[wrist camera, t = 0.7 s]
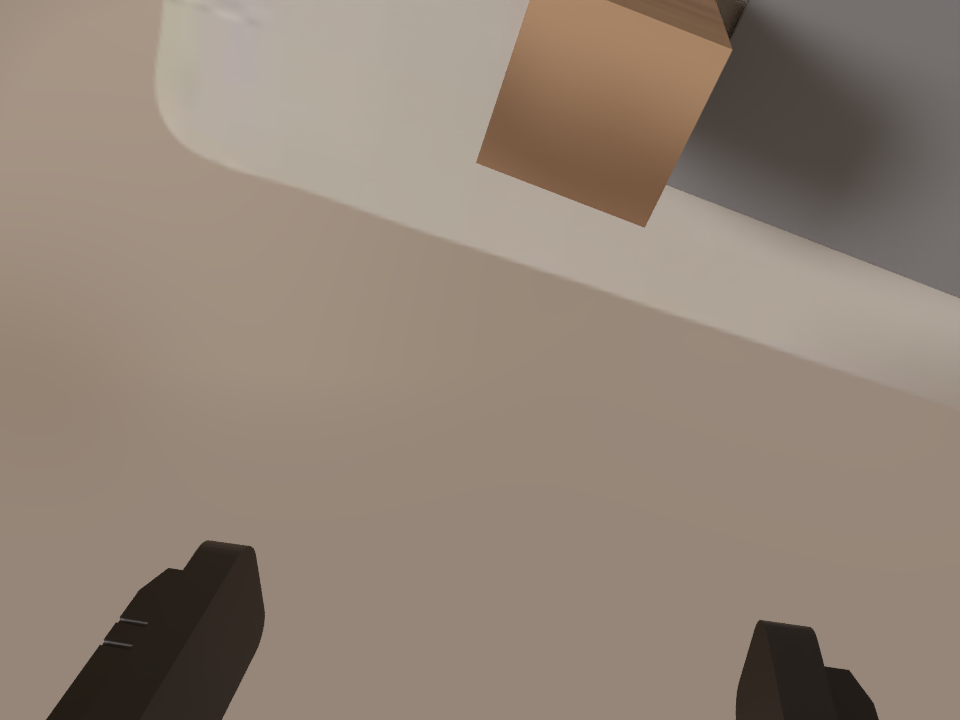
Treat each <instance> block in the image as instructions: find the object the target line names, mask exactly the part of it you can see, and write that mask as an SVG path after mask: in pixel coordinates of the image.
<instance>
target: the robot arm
mask: <svg viewBox="0 0 960 720" xmlns="http://www.w3.org/2000/svg"><path fill="white" fill-rule="evenodd" d="M264 619H265V611H264V603H263V597H262V591H261V584H260V578H259V572H258V566H257V559H256V554H255V551H254V549H253V548H252V547H251V546H245V545H238V544H231V543H224V542H216V541H209V540H208V541H205V542H203V543H202V544H201V545H200V546H199V548H198V549H197V550H196V552H195V553H194V555H193V556H192V558H191V559H190V561H189V562H188V564H187V565H186V567H185V568H184V570H178V569H171V568H168V569H167V570H165V571H164V572H163V573H161V574H160V575H159V576H158V577H156V578H155V579H153V580H152V581H151V582H149V583H148V584H147V585H146V586H144V587H143V588H141V589H140V590H139V591H138V593H137V594H136V596H135V597H134V598H133V600H132V601H131V602H130V604H129V605H128V607H127V608H126V610H125V611H124V612H123V614H122V615H121V616H120V621H119V622H118V623H115V625H114V626H113V627H112V629H111V630H110V632H109V633H108V634H107V636H106V637H105V639H104V643H103V645H100V646H99V647H98V649H97V650H96V651H95V652H94V654H93V655H92V657H91V658H90V659H89V661H88V662H87V664H86V665H85V666H84V668H83V669H82V671H81V672H80V673H79V675H78V676H77V678H76V679H75V680H74V682H73V683H72V684H71V686H70V687H69V689H68V690H67V691H66V693H65V694H64V696H63V697H62V698H61V700H60V701H59V703H58V704H57V705H56V707H55V708H54V710H53V711H52V713H51V714H50V715H49V716H48V718H47V719H46V720H222V718H223V716H224V714H225V712H226V710H227V708H228V706H229V704H230V702H231V700H232V698H233V696H234V694H235V692H236V690H237V688H238V686H239V684H240V682H241V680H242V678H243V676H244V674H245V672H246V670H247V668H248V666H249V664H250V662H251V660H252V658H253V656H254V654H255V652H256V650H257V648H258V646H259V643H260V640H261V636H262V632H263V627H264ZM736 720H879V719H878V716H877V712H876V709H875V706H874V703H873V702H872V700H871V699H870V698H869V697H868V695H867V694H866V693H865V691H864V690H863V688H862V687H861V686H860V684H859V683H858V682H857V680H856V679H855V678H854V676H853V675H852V674H851V672H850V671H849V670H845V669H837V668H831V667H824V664H823V659H822V655H821V652H820V648H819V644H818V640H817V637H816V634H815V632H814V630H813V629H812V628H811V627H806V626H799V625H791V624H785V623H777V622H771V621H763V620H759V621H758V623H757V624H756V627H755V630H754V633H753V637H752V640H751V643H750V647H749V650H748V654H747V657H746V661H745V664H744V667H743V671H742V674H741V677H740V681H739V685H738V690H737V697H736Z"/></svg>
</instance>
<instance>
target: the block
mask: <svg viewBox="0 0 960 720" xmlns="http://www.w3.org/2000/svg"><path fill="white" fill-rule="evenodd" d="M732 50H733V49H732V46H731V43H730V40H729V37H728V34H727V32H726V29H725V26H724V23H723V20H722V17H721V14H720V11H719V8H718V5H717V2H716V0H530V1H529V4H528V7H527V10H526V14H525V17H524V20H523V23H522V26H521V29H520V32H519V35H518V38H517V41H516V44H515V47H514V50H513V53H512V56H511V59H510V62H509V65H508V68H507V71H506V74H505V77H504V80H503V83H502V86H501V89H500V92H499V95H498V98H497V101H496V104H495V107H494V110H493V113H492V116H491V119H490V123H489V126H488V129H487V132H486V135H485V138H484V141H483V144H482V147H481V150H480V153H479V156H478V159H477V162H476V163H478V164H481V165H483V166H486V167H489V168H491V169H494V170H496V171H499V172H502V173H504V174H507V175H509V176H512V177H515V178H517V179H520V180H522V181H525V182H528V183H530V184H533V185H535V186H538V187H541V188H543V189H546V190H548V191H551V192H554V193H556V194H559V195H561V196H564V197H567V198H569V199H572V200H574V201H577V202H580V203H582V204H585V205H587V206H590V207H593V208H595V209H598V210H600V211H603V212H606V213H608V214H611V215H613V216H616V217H619V218H621V219H624V220H626V221H629V222H632V223H634V224H637V225H639V226H642V227H645V226H646V224H647V222H648V220H649V218H650V216H651V214H652V212H653V210H654V208H655V206H656V204H657V202H658V200H659V198H660V196H661V193H662V191H663V189H664V187H665V185H666V183H667V181H668V179H669V177H670V175H671V173H672V171H673V169H674V167H675V165H676V163H677V161H678V159H679V157H680V155H681V153H682V151H683V149H684V147H685V145H686V143H687V141H688V139H689V137H690V135H691V133H692V131H693V129H694V127H695V125H696V123H697V121H698V119H699V117H700V115H701V113H702V111H703V109H704V107H705V105H706V103H707V101H708V99H709V96H710V94H711V92H712V90H713V88H714V86H715V84H716V82H717V80H718V78H719V76H720V74H721V72H722V70H723V68H724V66H725V64H726V62H727V60H728V58H729V56H730V54H731V52H732Z"/></svg>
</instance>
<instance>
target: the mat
mask: <svg viewBox="0 0 960 720" xmlns="http://www.w3.org/2000/svg"><path fill="white" fill-rule="evenodd" d="M729 40H730V43H731V46H732V49H733V50H732V52H731V54H730V56H729V58H728V60H727V62H726V64H725V66H724V68H723V70H722V72H721V74H720V76H719V78H718V80H717V82H716V84H715V86H714V88H713V90H712V92H711V94H710V96H709V99H708V101H707V103H706V105H705V107H704V109H703V111H702V113H701V115H700V117H699V119H698V121H697V123H696V125H695V127H694V129H693V131H692V133H691V135H690V137H689V139H688V141H687V143H686V145H685V147H684V149H683V151H682V153H681V155H680V157H679V159H678V161H677V163H676V165H675V167H674V169H673V171H672V173H671V175H670V177H669V179H668V181H667V183H666V185H669V186H671V187H674V188H676V189H679V190H682V191H684V192H687V193H689V194H692V195H695V196H697V197H700V198H702V199H705V200H707V201H710V202H713V203H715V204H718V205H720V206H723V207H726V208H728V209H731V210H733V211H736V212H738V213H741V214H744V215H746V216H749V217H751V218H754V219H757V220H759V221H762V222H764V223H767V224H770V225H772V226H775V227H777V228H780V229H782V230H785V231H788V232H790V233H793V234H795V235H798V236H801V237H803V238H806V239H808V240H811V241H813V242H816V243H819V244H821V245H824V246H826V247H829V248H832V249H834V250H837V251H839V252H842V253H845V254H847V255H850V256H852V257H855V258H857V259H860V260H863V261H865V262H868V263H870V264H873V265H876V266H878V267H881V268H883V269H886V270H888V271H891V272H894V273H896V274H899V275H901V276H904V277H907V278H909V279H912V280H914V281H917V282H920V283H922V284H925V285H927V286H930V287H932V288H935V289H938V290H940V291H943V292H945V293H948V294H951V295H953V296H956V297H958V298H960V0H748V1H747V3H746V5H745V8H744V10H743V12H742V14H741V16H740V18H739V20H738V22H737V24H736V26H735V28H734V30H733V32H732V34H731V36H730V38H729Z"/></svg>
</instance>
